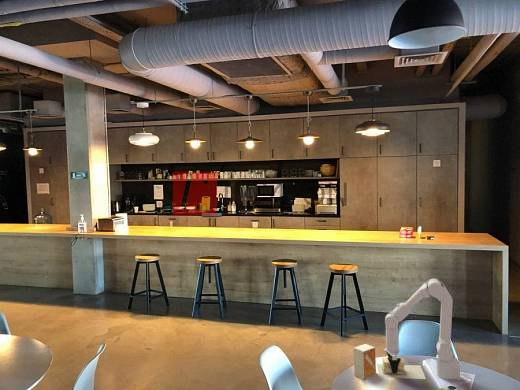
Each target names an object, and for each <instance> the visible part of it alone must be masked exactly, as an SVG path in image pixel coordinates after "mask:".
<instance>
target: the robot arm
mask: <svg viewBox="0 0 520 390" xmlns="http://www.w3.org/2000/svg"><path fill="white" fill-rule="evenodd" d="M431 297H433V298H436V299H437V300H438V302H440V317H439V318H440V320H439V335H438V340H437V343H436V345H435V347H436V350H437V351H436V352H437V354H436V356H435V363H436V367H435V368H436V376H437V378H440V379H443V380H459V381H460V380H461V366H460V360H459V359H458V358H455V357H454V351H453V350H452V339H451V338H452V325H453V323H452V321H453V320H452V318H453V303H454V302H453V297H452V296H451V294H450V292H449V291H448V289H447V287H446V286H445V284H444V283H443V282H442V281H441V280H440V279H437V278H430V279H428V280H427V281H426V282H424V283H423V284H422V285H421V286H420V287H419V288H418V289H417V290H415V292H414V293H413V294H412V295H411V296H410V297H409V298H408V299H407V300H406V301H405V302H400V303H397V304H396V307H395V308H394V309H393V310H391V311H389V312H388V313H387V314H386V315H385V318H384V324H385V346H386V348H383V352H385V353H386V354H387V358H388V361H389V362H390V365H391V370H392V373H397V371H398V365H399V363H400V361H401V359H400V357H399V358H398V355H399V354H400V352H401V351H400V350H401V349H400V339H399V338H400V337H399V330H398V326H399V323H400V322H402V321H403V320H404V319H405V318H406V317H407V316H408V315H409V314H411V312H412V310H411V309H412V308H413V307H414V306H415V305H416V304H418V303H419V302H420V301H421V300H422V299H423V298H431Z"/></svg>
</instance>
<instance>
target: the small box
mask: <svg viewBox="0 0 520 390" xmlns="http://www.w3.org/2000/svg"><path fill="white" fill-rule="evenodd" d="M376 361H377V359H376V347H375V346H373V345H370V344H367V343H364V344H361V345H357V346H355V347H353V367H354V368H353V371H354V376H356V377H358V378H360V379H362V380H366V379H367V378H368V377H369V376H372V375H374V374H376V373H377V367H376V366H377V364H376Z"/></svg>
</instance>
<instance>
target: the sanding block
mask: <svg viewBox="0 0 520 390" xmlns="http://www.w3.org/2000/svg"><path fill="white" fill-rule="evenodd" d="M399 358H400V357H399ZM400 359H401V361H400V363H399V365H398V371H397V374H404V365H405V362H404V359H403V358H400ZM382 364H383V371H384V373H392V370H391V365H390V362H389V361H388V357H382Z"/></svg>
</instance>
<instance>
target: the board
mask: <svg viewBox="0 0 520 390" xmlns="http://www.w3.org/2000/svg"><path fill="white" fill-rule="evenodd" d="M376 366H377V367H376V368H377V372H378V376H379V377H378V378H381V379H383V378H385V379H386V378H387V379H390V378H391V379H414V380H427V377H426V376H425V373H424V370H423V368H422V366H421V365H419V364H418V365H417V364H414V365H412V364H404V374H397V373H384V371H383V363H377V364H376Z"/></svg>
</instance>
